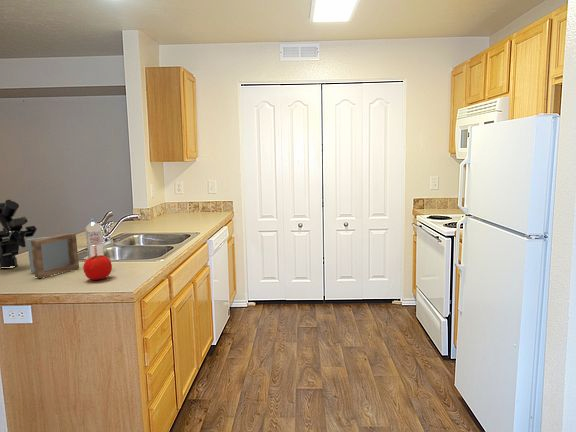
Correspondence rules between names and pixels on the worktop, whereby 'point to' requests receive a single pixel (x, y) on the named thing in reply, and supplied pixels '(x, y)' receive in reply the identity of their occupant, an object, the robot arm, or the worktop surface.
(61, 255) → the door
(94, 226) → the water bottle
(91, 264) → the tomato
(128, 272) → the worktop surface
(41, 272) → the cabinet frame
